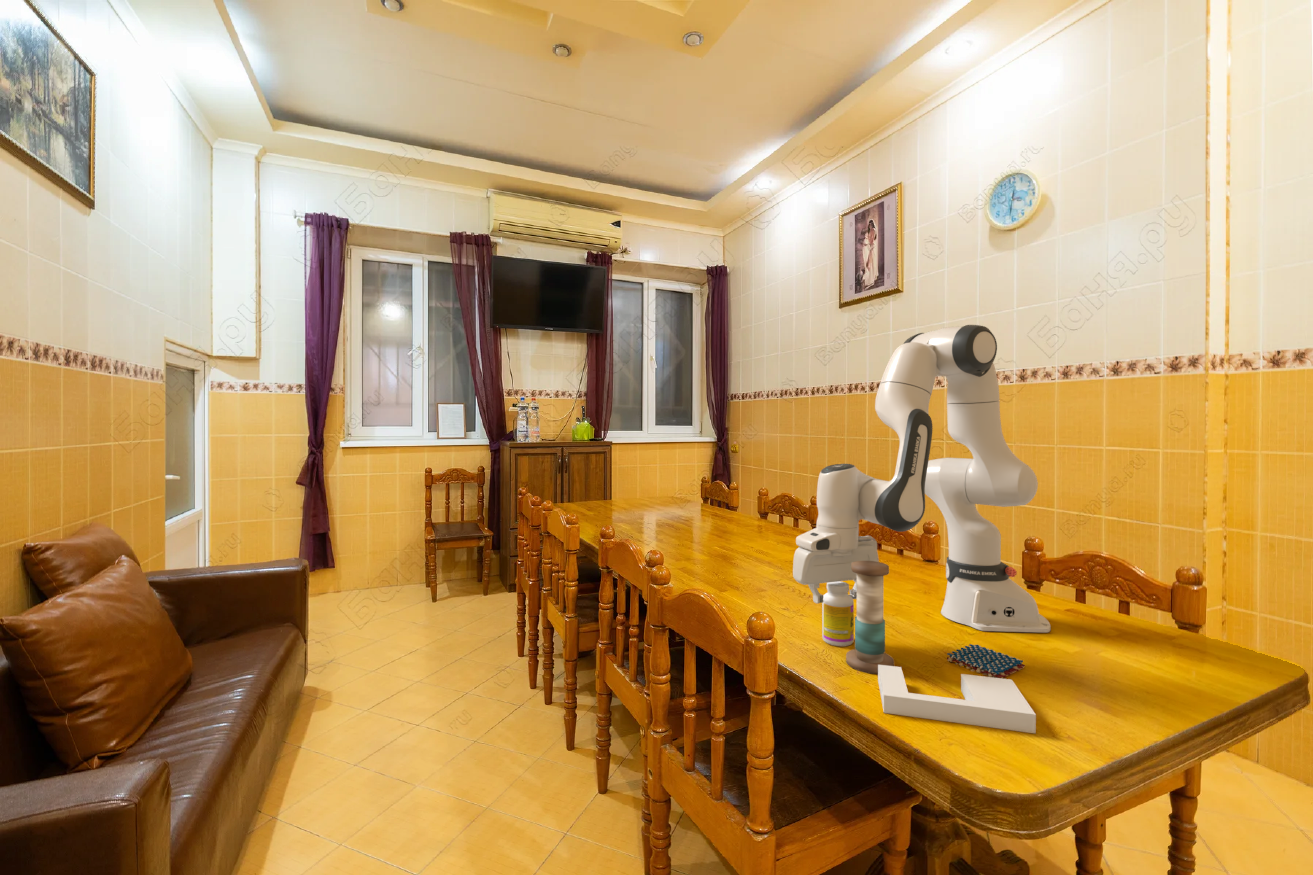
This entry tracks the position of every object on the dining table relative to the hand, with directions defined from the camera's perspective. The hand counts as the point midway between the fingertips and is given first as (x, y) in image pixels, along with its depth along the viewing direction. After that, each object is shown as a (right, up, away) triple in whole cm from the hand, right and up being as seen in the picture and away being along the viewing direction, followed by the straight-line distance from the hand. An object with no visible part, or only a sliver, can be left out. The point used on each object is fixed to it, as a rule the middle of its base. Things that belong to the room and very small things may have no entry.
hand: (836, 600), depth 122 cm
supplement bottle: (+1, -9, +1) cm, 9 cm away
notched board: (+11, -10, -27) cm, 31 cm away
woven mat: (+26, -10, -12) cm, 30 cm away
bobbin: (+3, -10, -11) cm, 15 cm away
